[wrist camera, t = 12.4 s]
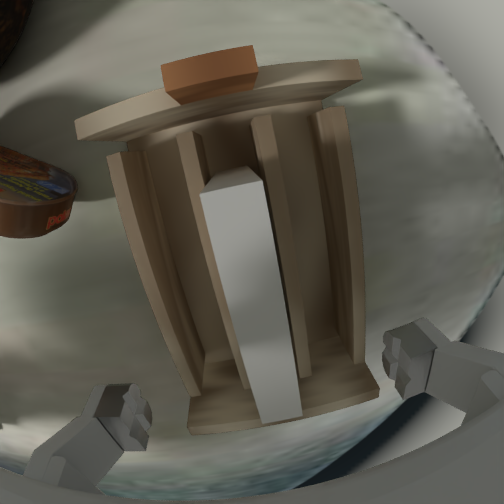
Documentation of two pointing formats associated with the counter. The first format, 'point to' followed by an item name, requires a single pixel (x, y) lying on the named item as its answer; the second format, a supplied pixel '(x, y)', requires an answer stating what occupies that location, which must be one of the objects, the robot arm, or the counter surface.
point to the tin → (32, 196)
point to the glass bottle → (12, 24)
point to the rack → (280, 213)
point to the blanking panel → (253, 288)
